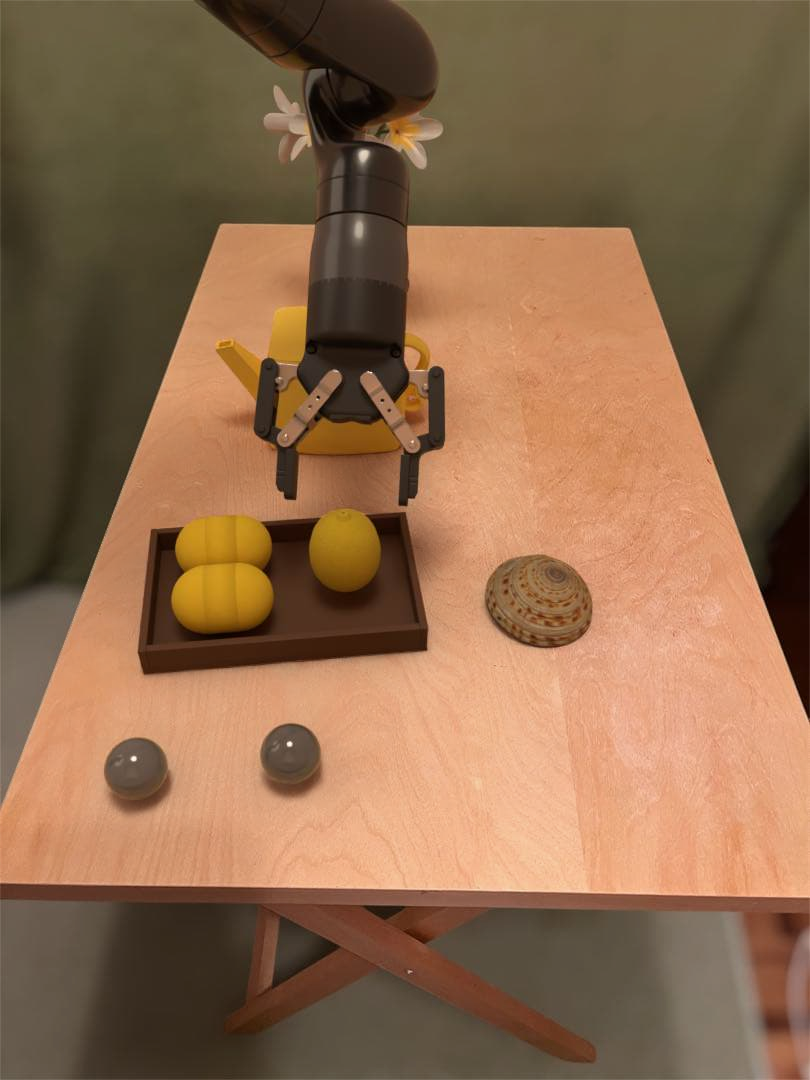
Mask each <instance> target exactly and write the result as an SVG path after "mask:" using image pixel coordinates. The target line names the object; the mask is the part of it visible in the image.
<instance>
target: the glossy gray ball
mask: <svg viewBox="0 0 810 1080" xmlns="http://www.w3.org/2000/svg"><path fill="white" fill-rule="evenodd" d="M168 770H169V762H168V758H167V755H166V753H165V751H164V749H163V748H162V747H161V746H160V745H159V744H158V743H157V742H155V741H154V740H152V739H150V738H147V737H142V736H133V737H129V738H126V739H123V740H121V741H119V742H118V743H117V744H116V745H115V746H114V747H113V748H112V749H111V750H110V751H109V753H108V754H107V756H106V758H105V761H104V766H103V778H104V781H105V783H106V786H107V787H108V789H109V790H110V791H111V792H112V793H113V794H114V795H116V796H117V797H118V798H121V799H124V800H127V801H141V800H145V799H147V798H149V797H151V796H153V795H154V794H155V793H156V792H158V791H159V790H160V788H162V786H163V784H164V783H165V781H166V778H167V775H168Z"/></svg>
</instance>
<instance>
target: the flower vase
mask: <svg viewBox="0 0 810 1080" xmlns="http://www.w3.org/2000/svg"><path fill="white" fill-rule="evenodd" d="M273 97H274V101H275V104H276V106H277V108H278V109H279V111H280V112H270V113H267V114H266V115H265V116H264V117H263V126H264V127H265V129H266V130H267V131H268V132H269V133H272V134H274V135H284V136H282V138H281V139H280V141H279V145H278V152H277V153H278V160H279V161H278V162H279V163H280V164H282V165H284V164H285V163H286V162H287V161H288V158H289V157H290V160H291V162H292V161H295V160H296V159H297V158H298V157H299V156H300V155H302V154H303V151H304V150H306V149H307V147H308V148H312V143H311V138H310V132H309V127H308V123H307V118H306V114H305V113H301V107H300V105H299V103H298V102H297V101H294V102H293V103H292V104H291V102H290V101H289V99H288V98H287V96H286V95H285V93H284V92H283V90H282V89H281V87H279V85H278V84H275V85H274V86H273ZM420 112H421V111H419V112H417V113H416V114H414V115H411V116H409V117H406V118H402V119H399V120H395V121H391V122H388V123H385V124H381V125H379V127H378V129H377V130H376V133H375V134H374V135H372V134H371V133H370V132H371V128H368V129H367V132H366V139H365V141H372V142H378V143H382V144H385V145H388V146H390V147H392V148H394V149H396V150H397V151H399V152H400V153H401V152H402V151H404V152H405V154H406V155H407V157H408V158H409V159H410V162H411V163H412V164H413V165H414V166H415V167H416V168H417V169H419V170H424V169H427V166H428V158H427V153H426V151H425V148H424V146H423V145H422V144H421V142H423V141H424V142H425V141H431V140H434V139H437V138H438V137H440V136H441V135H442V134H443V131H444V126H443V124H442V123H441V122H440V121H439V120H437V119H436V118H435V119H434V118H428V117H423V116H422V115H420ZM387 127H388V129H386V128H387ZM384 134H386V136H385V138H384V140H382V139H381V135H384Z"/></svg>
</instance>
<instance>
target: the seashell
mask: <svg viewBox="0 0 810 1080" xmlns="http://www.w3.org/2000/svg"><path fill="white" fill-rule="evenodd" d="M485 598H486V603H487V605H488V606H487V607H488V609H489V611H490V613H491V614H492V616H493V618H494V619H495V620H496V622H497V623H498V624H499V625H500V626H501V627H502V628H503V630H505V631H506V632H508V634H511V635H512V636H513V637H516V638H517V639H519V640H520V641H523V642H525V643H527V644H531V645H535V646H539V647H559V646H563V645H566V644H569V643H571V642H573V641H576V640H577V639H578V638H580V637H581V636H582V635H583V634H584V633H585V632H586V630H587V629H588V627H589V626H590V623H591V621H592V615H593V599H592V594H591V592H590V589H589V587H588V584H587V582H586V581H585V580H584V578H583V577H582V575H581V574H580V573H579V572H578V571H577V570H575V568H574V567H573V566H571V565H570V564H569V563H568V562H565V561H563V560H561V559H558V558H555V557H553V556H550V555H547V554H540V553H539V554H529V555H523V556H517V557H511V558H509V559H507V560H505V561H504V562H502V563H501V564H499V565H498V566H496V568H495V569H494V570H493V572H492V573H491V574H490V576H489V577H488V580H487V582H486V587H485Z"/></svg>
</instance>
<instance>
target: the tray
mask: <svg viewBox="0 0 810 1080" xmlns="http://www.w3.org/2000/svg"><path fill="white" fill-rule="evenodd" d="M363 514H364V513H363ZM364 515H365V516H366V517H368V518H369V520H370V521H371V522H372V523H373V525H374V527H375V529H376V532H377V534H378V537H379V541H380V548H381V550H380V563H379V566H378V569H377V571H376V574H375V575H374V577H373V578H372V579H371V581H370V582H369V583H368V584H366V585H365V586H364V587H362V588H361V589H358V590H356V591H352V592H339V591H335V590H332V589H330V588H328V587H327V586H325V585H323V584H322V583H321V581H320V580H319V579H318V578H317V577H316V575H315V573H314V571H313V569H312V566H311V563H310V554H309V545H310V539H311V536H312V532H313V529H314V527H315V525H316V524H317V522H318V521H319V520H320V519H321V518H322V517H323V516H322V517H320V516H319V517H308V518H295V519H294V518H293V519H292V518H291V519H277V520H263V521H261V520H260V522H261V523H262V524H263V525H264V526H265V527H266V529H267V531H268V532H269V534H270V537H271V541H272V553H271V557H270V560H269V562H268V564H267V565H266V566H265V568H264V569H263V570H262V572H263V573H264V574H265V575H266V576H267V577H268V579H269V580H270V582H271V585H272V587H273V593H274V601H273V606H272V609H271V611H270V613H269V615H268V616H267V618H266V619H265V620H264V621H263V622H262V623H261V624H260V625H258V626H257V627H255V628H253V629H250V630H246V631H240V632H228V633H215V634H201V633H196V632H193V631H191V630H189V629H187V628H186V627H184V626H183V625H182V624H181V623H180V622H179V621H178V619H177V618H176V616H175V614H174V612H173V609H172V603H171V597H172V592H173V588H174V586H175V584H176V582H177V581H178V579H179V578H180V577H181V576H182V575H183V574H184V573H185V572H184V570H183V569H182V568H181V566H180V565H179V563H178V561H177V558H176V552H175V546H176V541H177V538H178V536H179V534H180V532H181V531H182V529H183V528H184V527H185V526H175V527H161V528H160V527H159V528H151V529H150V533H149V542H148V550H147V551H148V552H147V559H146V560H147V561H146V562H147V563H146V571H145V580H144V587H143V597H142V598H143V599H142V607H141V616H140V626H139V634H138V642H137V643H138V644H137V655H138V658H139V663H140V666H141V669H142V673H143V675H150V674H161V673H173V672H186V671H197V670H210V669H211V670H212V669H220V668H221V669H222V668H233V667H245V666H255V665H256V666H257V665H268V664H279V663H281V664H282V663H289V662H290V663H293V662H304V661H305V662H306V661H314V660H315V661H316V660H325V659H326V660H329V659H339V658H341V659H342V658H351V657H352V658H353V657H363V656H375V655H386V654H387V655H388V654H397V653H398V654H399V653H409V652H410V653H411V652H422V651H427V650H428V640H429V626H428V619H427V614H426V609H425V605H424V598H423V594H422V589H421V584H420V579H419V574H418V568H417V563H416V558H415V553H414V548H413V542H412V537H411V531H410V526H409V521H408V516H407V511H398V512H397V511H396V512H395V511H394V512H382V513H381V512H380V513H379V512H378V513H368V514H367V513H366V514H364Z"/></svg>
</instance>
